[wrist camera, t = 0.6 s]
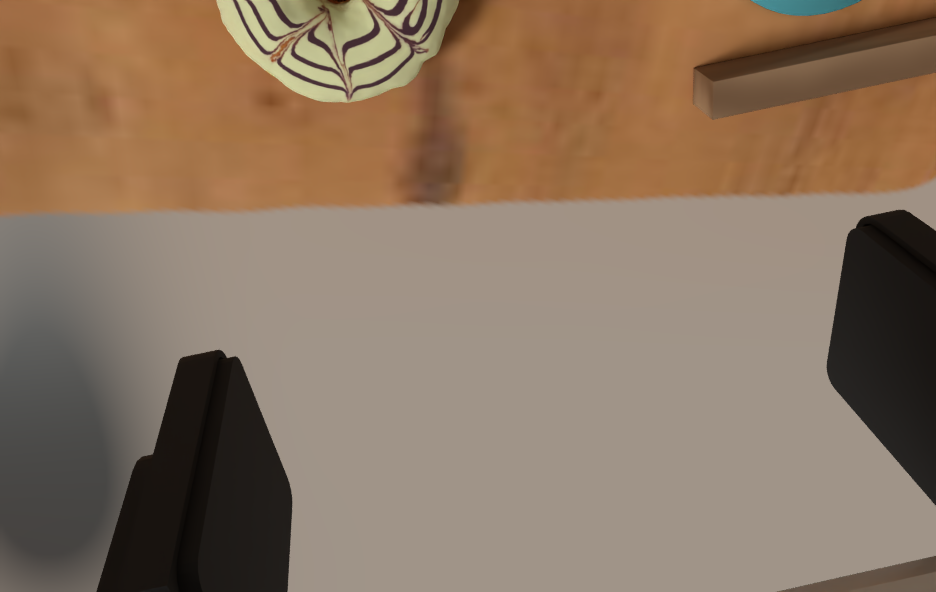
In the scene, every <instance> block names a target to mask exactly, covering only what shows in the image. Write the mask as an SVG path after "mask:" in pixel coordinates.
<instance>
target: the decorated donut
mask: <svg viewBox="0 0 936 592" xmlns="http://www.w3.org/2000/svg"><path fill="white" fill-rule="evenodd" d="M216 1H217V4H218V7H219V10H220V14H221V19H222V22H223V24H224V25H225V26H226V28H227V30H228V32H229V33H230V34H231V35H232V36H233V38H234V39H235V41H236V42H237V44H238V45H239V46H240V47H241V48H242V50H243V51H244V52H245V54H246V55H247V56H248V57H250V58H251V59H252V60H253V61H255V62H256V63H257V64H258V65H259V66H261V67H262V68H263V69H264V70H266V71H267V72H268V73H270V74H271V75H272V76H274V77H276V78H277V79H279V80H280V81H281V82H282V83H283V84H284V85H286V86H287V87H288V88H290V89H291V90H293V91H295V92H296V93H299V94H301V95H304V96H306V97H309V98H312V99H314V100H318V101H322V102H353V101H360V100H364V99H367V98H370V97H374V96H377V95H380V94H382V93H383V92H386V91H388V90H390V89H393V88H397V87H402V86H405V85H407V84H408V83H409V82H411V81H412V80H413V79H414V78H415V77H416V76H417V75H418V73H419V71H420V69H421V66H422V64H423V62H424V61H426V60H428V59H429V58H431V57H433V56H435V55H436V54H437V53H438V51H439V49H440V46H441V43H442V40H443V37H444V33H445V29H446V27H447V26H448V24H449V23H450V21H451V19H452V16H453V14H454V13H455V11H456V9H457V7H458V3H459V0H346V1H341V2H338V1H333V0H216Z"/></svg>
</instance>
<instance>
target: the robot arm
mask: <svg viewBox="0 0 936 592" xmlns="http://www.w3.org/2000/svg"><path fill="white" fill-rule="evenodd" d="M827 373H828V376H829V379H830V382H831V384H832V385H833V387H834V388H835V390H836V391H837V392H838V393H839V394H840V395H841V396H842V397H843V399H844V400H845V401H846V402H847V403H848V405H849V406H850V407H851V408H852V409H853V410H854V411H855V413H856V414H857V415H858V416H859V417H860V418H861V420H862V421H863V422H864V423H865V424H866V425H867V427H868V428H869V429H870V430H871V431H872V432H873V433H874V434H875V436H876V437H877V438H878V439H879V440H880V442H881V443H882V444H883V445H884V446H885V447H886V448H887V450H888V451H889V452H890V453H891V454H892V455H893V457H894V458H895V459H896V460H897V461H898V462H899V463H900V465H901V466H902V467H903V468H904V469H905V470H906V472H907V473H908V474H909V475H910V476H911V477H912V479H913V480H914V481H915V482H916V483H917V484H918V485H919V487H920V488H921V489H922V490H923V491H924V492H925V494H927V496H928V497H929V498H930V499H931V500H932V502H933V503H934V504H935V505H936V231H935V230H934V229H932V228H931V227H930V226H928V225H927V224H925V223H924V222H922V221H921V220H920V219H918V218H917V217H915V216H913V215H912V214H911V213H910V212H907V211H905V210H896V211H891V212H886V213H881V214H876V215H871V216H866V217H864V218H862V219H861V220H860V221H859V222H858V224H857V226H856V228H855V229H853V230H851V231H850V233H849V234H848V237H847V241H846V247H845V253H844V259H843V266H842V272H841V278H840V285H839V291H838V298H837V304H836V309H835V316H834V323H833V328H832V334H831V341H830V347H829V353H828V359H827ZM291 519H292V494H291V488H290V484H289V481H288V478H287V475H286V473H285V470H284V468H283V466H282V463H281V461H280V458H279V456H278V453H277V451H276V448H275V446H274V443H273V441H272V438H271V436H270V434H269V431H268V428H267V426H266V423H265V421H264V418H263V416H262V413H261V411H260V408H259V406H258V403H257V401H256V398H255V396H254V393H253V391H252V388H251V386H250V384H249V381H248V378H247V376H246V373H245V371H244V369H243V366H242V364H241V362H240V360H239V358H238V357H230V358H227V357H226V355H225V354H224V353H223V351H221V350H215V351H210V352H206V353H201V354H196V355H191V356H186V357H183V358H181V359H180V360H179V363H178V366H177V369H176V373H175V377H174V380H173V384H172V388H171V391H170V395H169V398H168V402H167V406H166V410H165V413H164V417H163V421H162V424H161V428H160V431H159V435H158V439H157V442H156V446H155V449H154V453H153V455H148V456H143V457H141V458H140V459H139V460H138V461H137V462H136V465H135V467H134V469H133V471H132V475H131V478H130V481H129V485H128V488H127V491H126V495H125V498H124V501H123V505H122V508H121V511H120V515H119V518H118V522H117V525H116V528H115V532H114V535H113V538H112V542H111V545H110V548H109V552H108V555H107V558H106V562H105V565H104V568H103V572H102V575H101V578H100V582H99V585H98V588H97V592H287V590H288V572H289V554H290V537H291ZM778 592H936V556H934V557H929V558H924V559H920V560H916V561H911V562H906V563H902V564H898V565H893V566H888V567H884V568H879V569H875V570H871V571H866V572H862V573H857V574H853V575H848V576H843V577H839V578H835V579H830V580H826V581H821V582H817V583H813V584H808V585H804V586H800V587H795V588H791V589H786V590H782V591H778Z"/></svg>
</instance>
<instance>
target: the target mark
mask: <svg viewBox="0 0 936 592" xmlns="http://www.w3.org/2000/svg"><path fill="white" fill-rule="evenodd" d="M751 1H753V2H755V3H756V4H758V5H760V6H762V7H764V8H766V9H769V10H772V11H775V12H778V13H782V14H788V15H796V16H810V15H818V14H825V13H829V12H832V11H836V10H840V9H843V8H845V7H847V6H850V5H852V4H855V3H857V2H859V1H861V0H751Z"/></svg>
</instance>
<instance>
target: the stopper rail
mask: <svg viewBox="0 0 936 592" xmlns="http://www.w3.org/2000/svg"><path fill="white" fill-rule="evenodd" d="M931 73H936V17H935V18H931V19H926V20H921V21H916V22H911V23H907V24H902V25H897V26H892V27H887V28H883V29H878V30H873V31H868V32H864V33H859V34H854V35H849V36H844V37H840V38H835V39H830V40H825V41H820V42H816V43H811V44H806V45H801V46H796V47H792V48H787V49H782V50H777V51H772V52H768V53H763V54H758V55H753V56H748V57H744V58H739V59H734V60H729V61H724V62H720V63H715V64H710V65H705V66H701V67H696V68H694V86H693V104H694V105H695V106H696V107H697V108H699V109H700V110H701V111H702V112H704V113H705V114H706V115H707V116H709V117H710V118H711V119H712V120H714V119H718V118H723V117H728V116H733V115H737V114H742V113H747V112H752V111H756V110H761V109H766V108H770V107H775V106H780V105H785V104H789V103H794V102H799V101H804V100H808V99H813V98H818V97H822V96H827V95H832V94H837V93H841V92H846V91H851V90H856V89H860V88H865V87H870V86H874V85H879V84H884V83H889V82H893V81H898V80H903V79H908V78H912V77H917V76H922V75H926V74H931Z"/></svg>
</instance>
